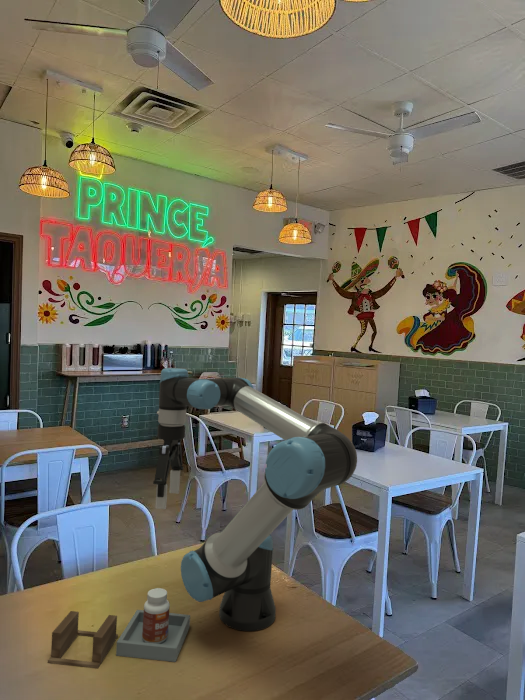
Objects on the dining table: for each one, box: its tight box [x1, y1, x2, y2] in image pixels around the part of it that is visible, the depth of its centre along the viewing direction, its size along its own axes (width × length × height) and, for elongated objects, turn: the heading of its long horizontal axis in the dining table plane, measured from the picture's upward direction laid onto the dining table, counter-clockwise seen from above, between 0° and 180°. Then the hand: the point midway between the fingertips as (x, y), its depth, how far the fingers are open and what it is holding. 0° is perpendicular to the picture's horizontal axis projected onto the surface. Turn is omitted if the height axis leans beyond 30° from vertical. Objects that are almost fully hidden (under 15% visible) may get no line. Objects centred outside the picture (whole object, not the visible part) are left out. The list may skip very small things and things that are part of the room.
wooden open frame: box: [47, 610, 119, 669], centre depth 115 cm, size 12×12×6 cm
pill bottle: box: [142, 587, 171, 644], centre depth 120 cm, size 6×6×11 cm
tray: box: [115, 609, 191, 663], centre depth 120 cm, size 14×14×3 cm
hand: (167, 500), depth 137 cm, fingers open, 13 cm apart
